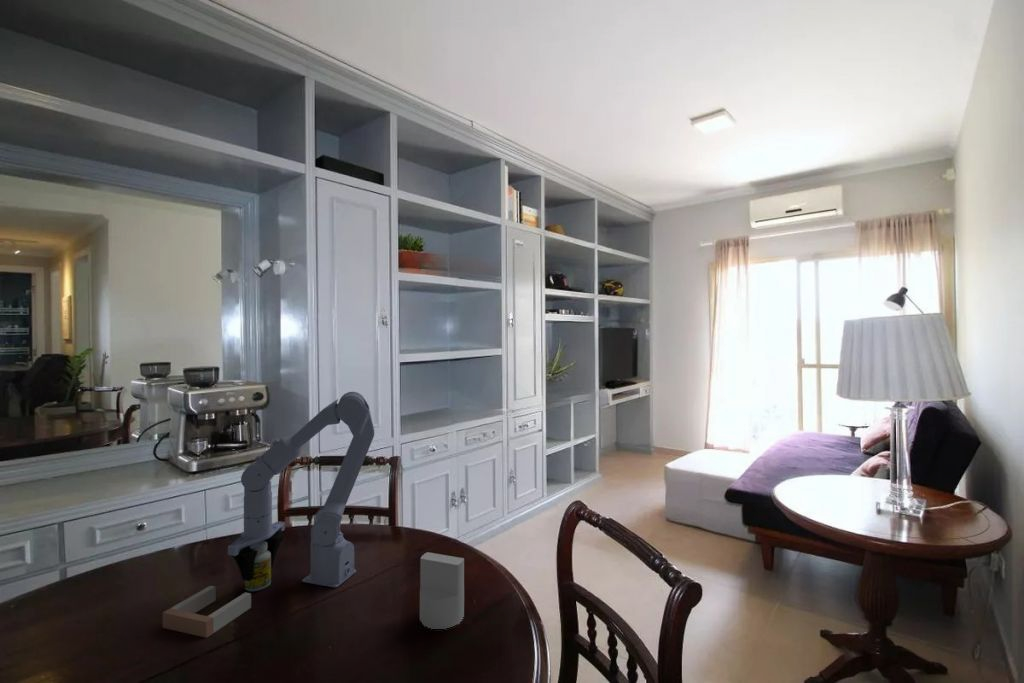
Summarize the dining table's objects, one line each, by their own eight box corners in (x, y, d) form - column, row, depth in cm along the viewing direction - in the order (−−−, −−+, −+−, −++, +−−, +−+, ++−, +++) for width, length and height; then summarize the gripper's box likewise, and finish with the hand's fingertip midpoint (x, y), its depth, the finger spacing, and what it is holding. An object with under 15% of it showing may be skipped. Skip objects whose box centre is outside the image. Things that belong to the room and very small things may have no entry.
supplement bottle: (269, 577, 112) (269, 537, 112) (272, 587, 108) (272, 545, 108) (243, 584, 109) (243, 542, 109) (245, 594, 105) (245, 551, 105)
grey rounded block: (471, 609, 100) (471, 552, 100) (452, 634, 91) (452, 572, 91) (433, 601, 103) (433, 546, 103) (411, 624, 94) (411, 564, 94)
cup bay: (251, 607, 100) (251, 593, 100) (206, 637, 90) (206, 622, 90) (210, 599, 103) (210, 585, 103) (162, 627, 93) (162, 612, 93)
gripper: (268, 502, 117) (268, 556, 117) (216, 524, 103) (216, 586, 103) (291, 504, 115) (291, 560, 115) (242, 527, 101) (242, 591, 101)
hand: (257, 573), depth 109 cm, fingers closed on supplement bottle, 5 cm apart
